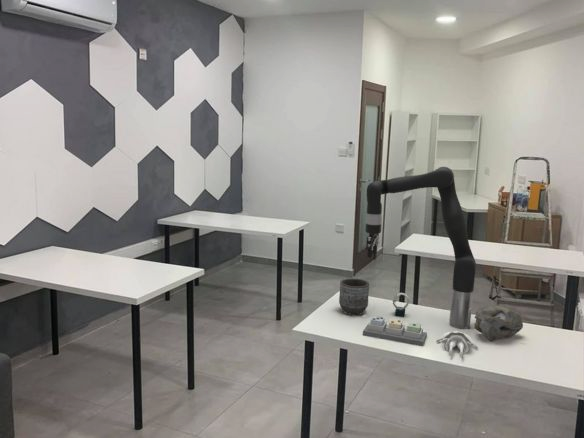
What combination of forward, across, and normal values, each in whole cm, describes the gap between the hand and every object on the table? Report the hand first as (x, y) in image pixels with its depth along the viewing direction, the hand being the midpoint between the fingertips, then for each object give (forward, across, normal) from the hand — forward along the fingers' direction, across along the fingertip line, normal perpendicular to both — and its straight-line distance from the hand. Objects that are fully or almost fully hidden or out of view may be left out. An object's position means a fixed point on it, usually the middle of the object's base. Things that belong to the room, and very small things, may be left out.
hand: (371, 255), depth 252 cm
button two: (+26, -25, -18) cm, 40 cm away
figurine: (+29, -25, -44) cm, 59 cm away
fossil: (+29, -5, -59) cm, 66 cm away
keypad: (+29, -25, -18) cm, 42 cm away
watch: (+29, +2, -15) cm, 33 cm away
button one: (+26, -25, -26) cm, 45 cm away
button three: (+26, -25, -10) cm, 37 cm away
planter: (+29, -5, +7) cm, 30 cm away
